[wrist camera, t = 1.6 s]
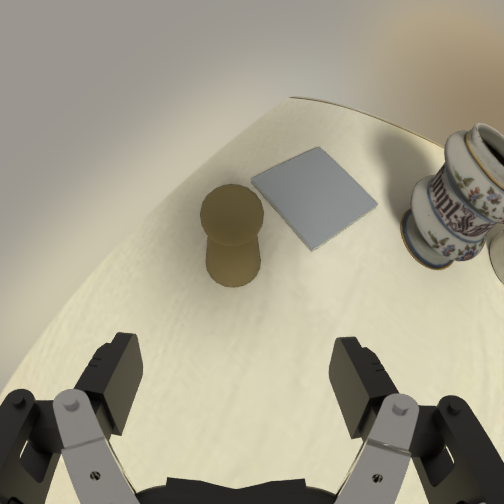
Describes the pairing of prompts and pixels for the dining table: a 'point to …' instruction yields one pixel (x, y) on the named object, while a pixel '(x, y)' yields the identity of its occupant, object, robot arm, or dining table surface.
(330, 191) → the slate tile
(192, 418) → the dining table surface
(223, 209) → the brown pawn
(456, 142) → the apothecary jar
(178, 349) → the dining table surface
